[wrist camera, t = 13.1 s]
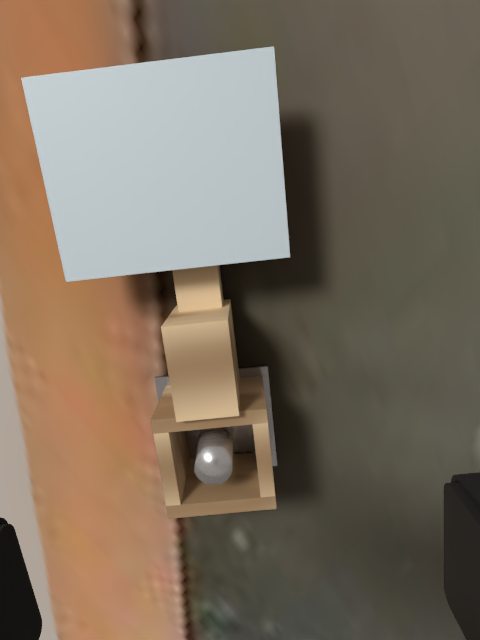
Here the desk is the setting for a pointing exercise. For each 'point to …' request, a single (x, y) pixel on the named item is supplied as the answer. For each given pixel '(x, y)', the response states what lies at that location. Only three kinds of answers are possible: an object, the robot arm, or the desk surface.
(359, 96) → the desk surface
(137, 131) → the plate
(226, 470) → the pintle
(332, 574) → the desk surface
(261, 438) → the link
